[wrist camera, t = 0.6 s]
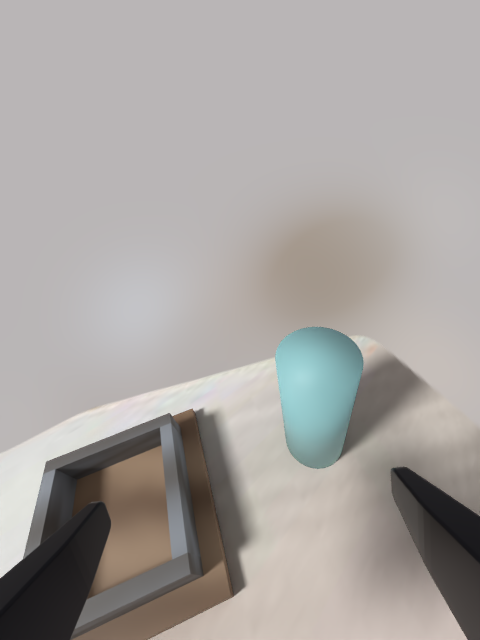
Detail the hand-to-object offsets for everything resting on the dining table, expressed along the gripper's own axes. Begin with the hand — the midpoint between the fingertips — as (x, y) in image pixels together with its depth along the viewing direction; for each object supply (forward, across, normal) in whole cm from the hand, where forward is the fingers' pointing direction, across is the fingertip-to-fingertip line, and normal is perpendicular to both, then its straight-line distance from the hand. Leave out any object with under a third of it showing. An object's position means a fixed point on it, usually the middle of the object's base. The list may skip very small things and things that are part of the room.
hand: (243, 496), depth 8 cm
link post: (+14, -4, +10) cm, 18 cm away
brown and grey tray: (+10, +12, +12) cm, 20 cm away
